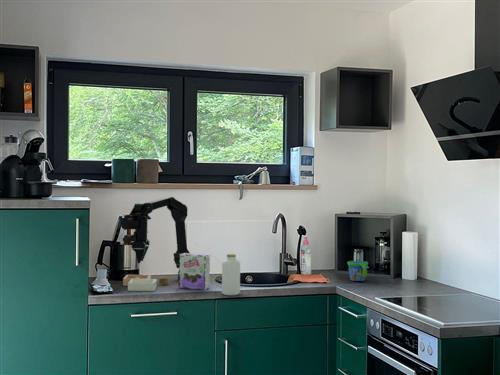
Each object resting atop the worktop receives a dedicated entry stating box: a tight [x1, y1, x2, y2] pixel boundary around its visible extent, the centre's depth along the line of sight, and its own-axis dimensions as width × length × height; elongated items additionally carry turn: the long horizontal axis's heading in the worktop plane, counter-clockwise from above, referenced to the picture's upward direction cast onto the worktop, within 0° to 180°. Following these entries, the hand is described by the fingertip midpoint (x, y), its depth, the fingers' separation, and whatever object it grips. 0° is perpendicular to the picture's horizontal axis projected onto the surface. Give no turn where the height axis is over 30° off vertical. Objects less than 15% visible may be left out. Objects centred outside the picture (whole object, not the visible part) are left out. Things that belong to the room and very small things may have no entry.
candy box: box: [178, 252, 211, 291], centre depth 289 cm, size 14×6×16 cm, turn 70°
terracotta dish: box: [122, 274, 152, 287], centre depth 296 cm, size 12×12×4 cm
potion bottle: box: [221, 253, 241, 296], centre depth 275 cm, size 8×8×18 cm
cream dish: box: [127, 278, 158, 293], centre depth 283 cm, size 12×12×4 cm
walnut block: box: [158, 276, 169, 286], centre depth 295 cm, size 4×4×4 cm
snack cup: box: [347, 260, 369, 282], centre depth 317 cm, size 16×10×10 cm
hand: (140, 262), depth 287 cm, fingers open, 9 cm apart
